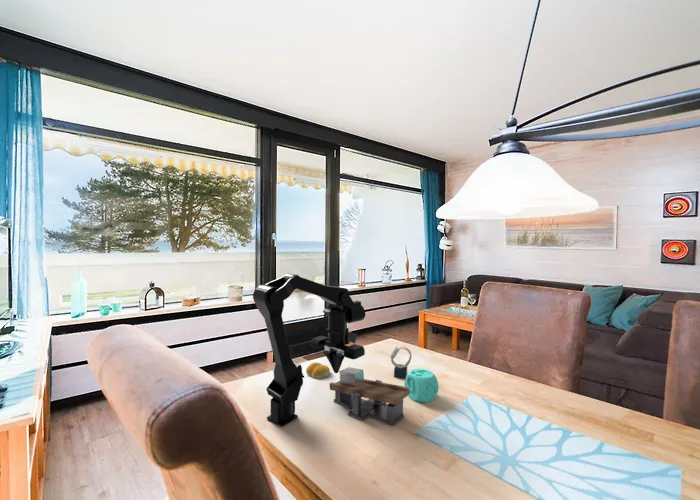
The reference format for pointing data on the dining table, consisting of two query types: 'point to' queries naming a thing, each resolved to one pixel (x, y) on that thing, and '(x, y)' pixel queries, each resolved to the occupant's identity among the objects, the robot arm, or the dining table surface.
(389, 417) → the stand
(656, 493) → the dining table surface
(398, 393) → the beam
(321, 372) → the bread roll
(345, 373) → the rider
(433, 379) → the decorative dice
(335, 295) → the robot arm
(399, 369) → the watch
